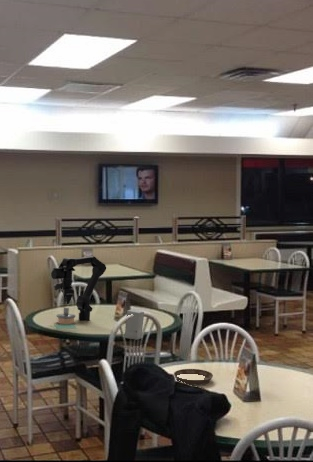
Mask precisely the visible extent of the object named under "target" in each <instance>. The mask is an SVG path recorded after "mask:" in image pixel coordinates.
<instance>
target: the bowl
mask: <svg viewBox="0 0 313 462" xmlns="http://www.w3.org/2000/svg"><path fill="white" fill-rule="evenodd" d="M57 323H58V324H74V323H75V318H58V317H57Z"/></svg>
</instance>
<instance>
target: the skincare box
mask: <svg viewBox="0 0 313 462" xmlns="http://www.w3.org/2000/svg"><path fill="white" fill-rule="evenodd" d="M131 314H133V315H134V316H133V317H132V318H130V319H129V320H128V321H127V322H126V321H125V327H124V328H125V329H124V338H125V339H128V340H129V339H131V340H135V341H137V340H140V339H142V337H143V329H144V328H143V327H144V326H143V325H144V316H145V312H144V311H142V310H141V311H140V310H136V309H128V310H126V317H127V316H128V315H131Z"/></svg>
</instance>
